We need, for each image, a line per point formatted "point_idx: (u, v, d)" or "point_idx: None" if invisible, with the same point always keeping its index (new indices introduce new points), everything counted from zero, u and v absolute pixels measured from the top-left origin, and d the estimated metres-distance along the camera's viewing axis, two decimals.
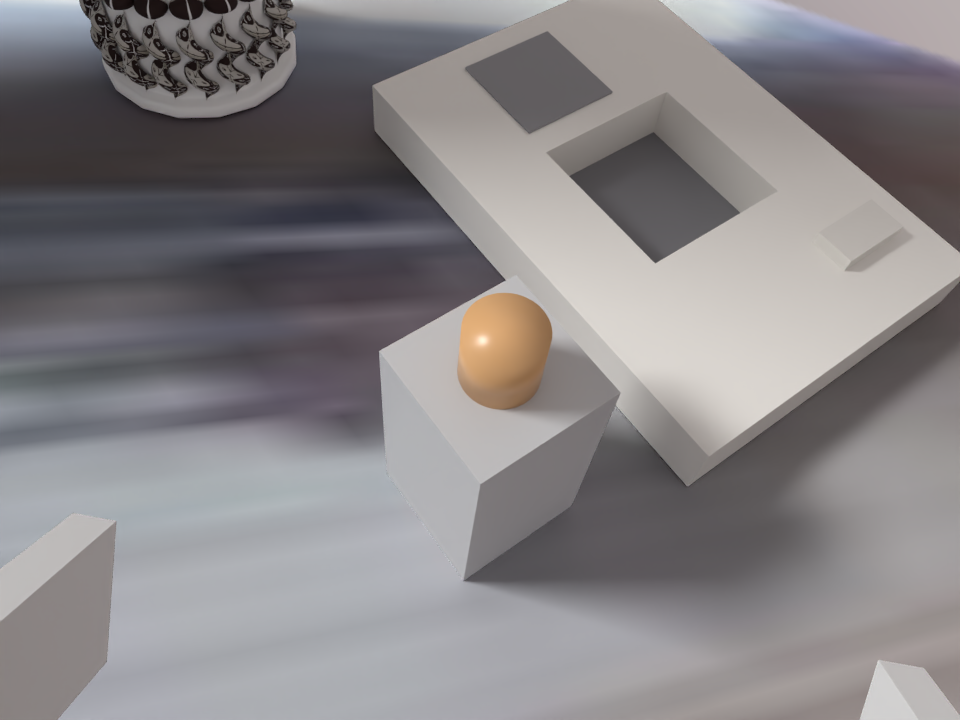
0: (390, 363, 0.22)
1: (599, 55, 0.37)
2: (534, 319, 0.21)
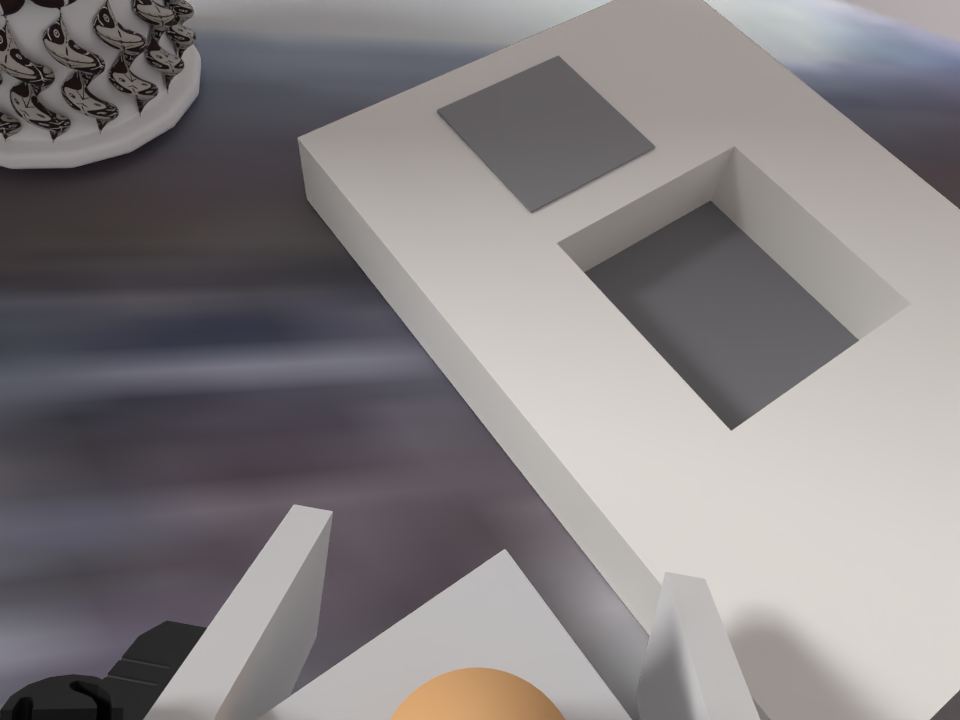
0: None
1: (634, 92, 0.26)
2: None
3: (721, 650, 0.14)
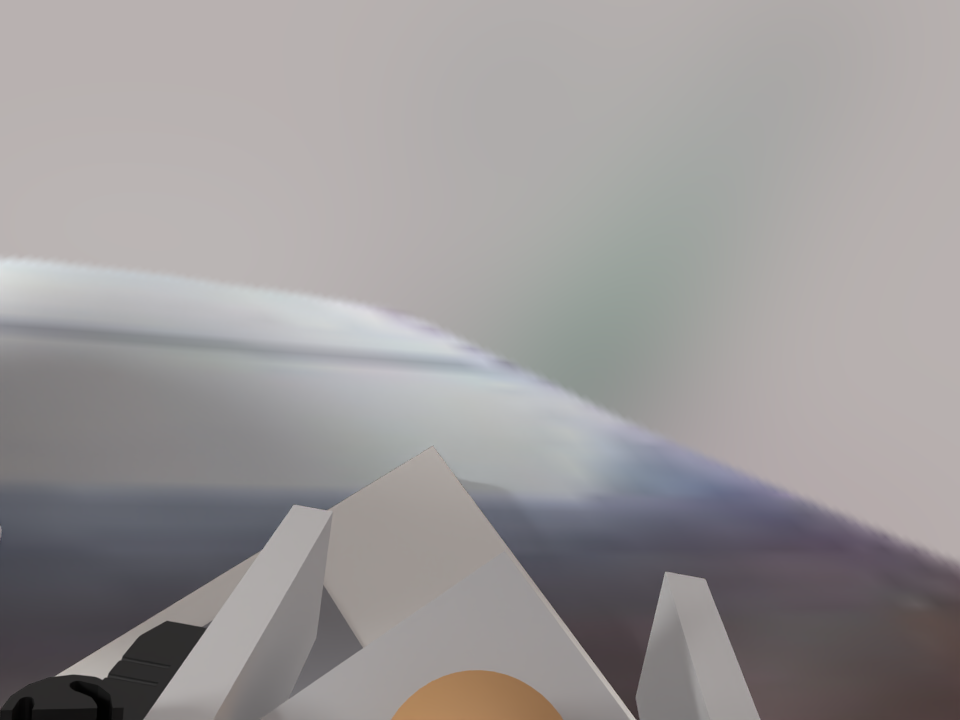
0: None
1: (372, 601, 0.28)
2: None
3: (721, 650, 0.14)
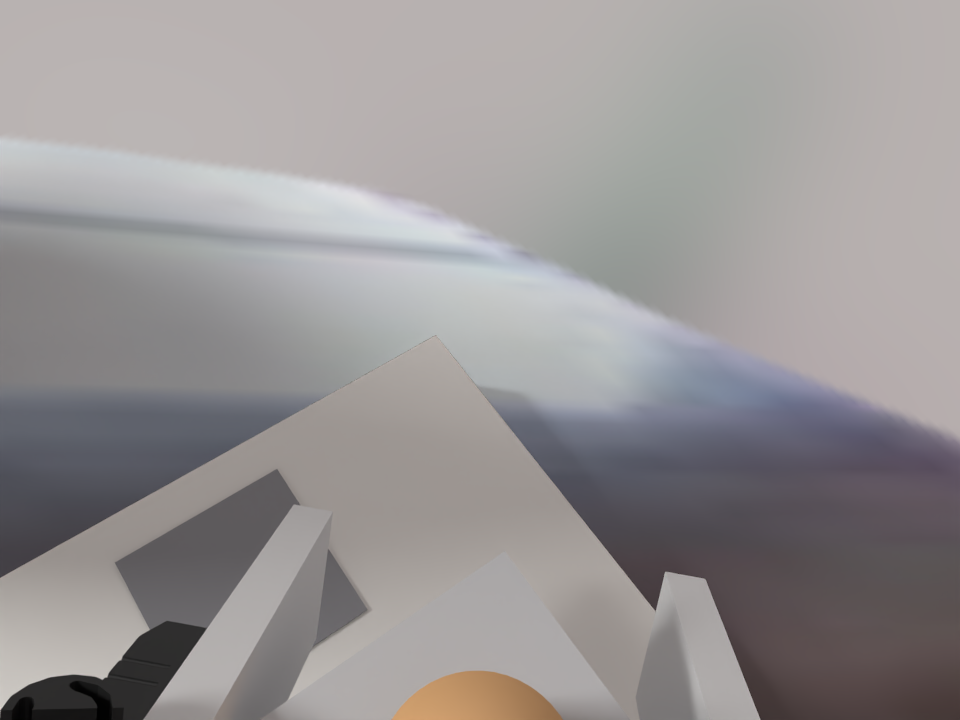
0: None
1: (359, 519, 0.22)
2: None
3: (721, 650, 0.14)
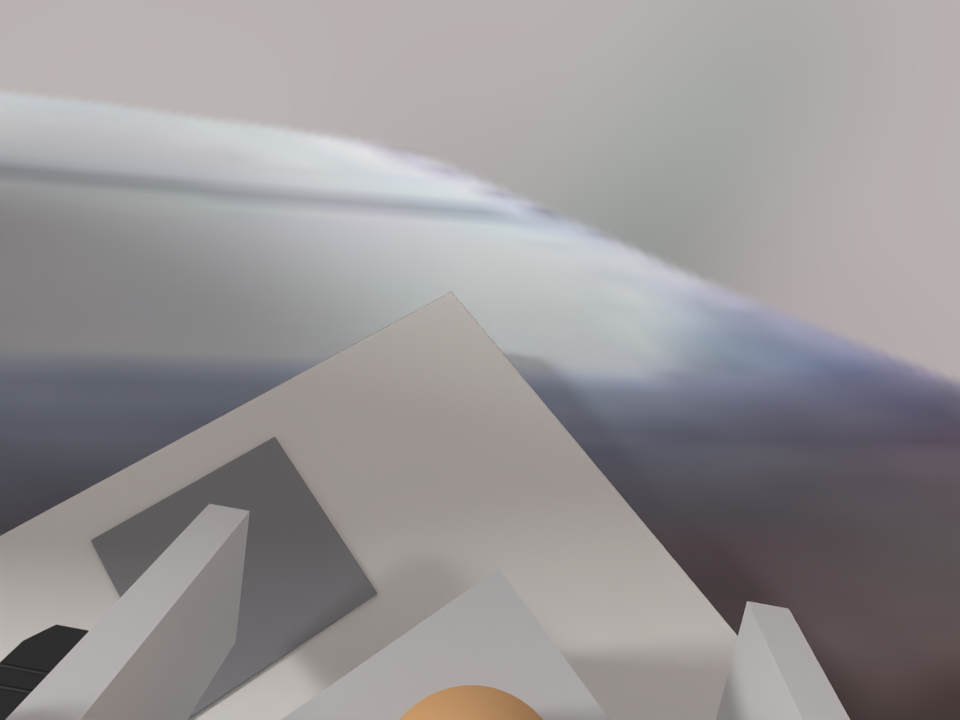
0: None
1: (367, 493, 0.20)
2: None
3: (821, 689, 0.13)
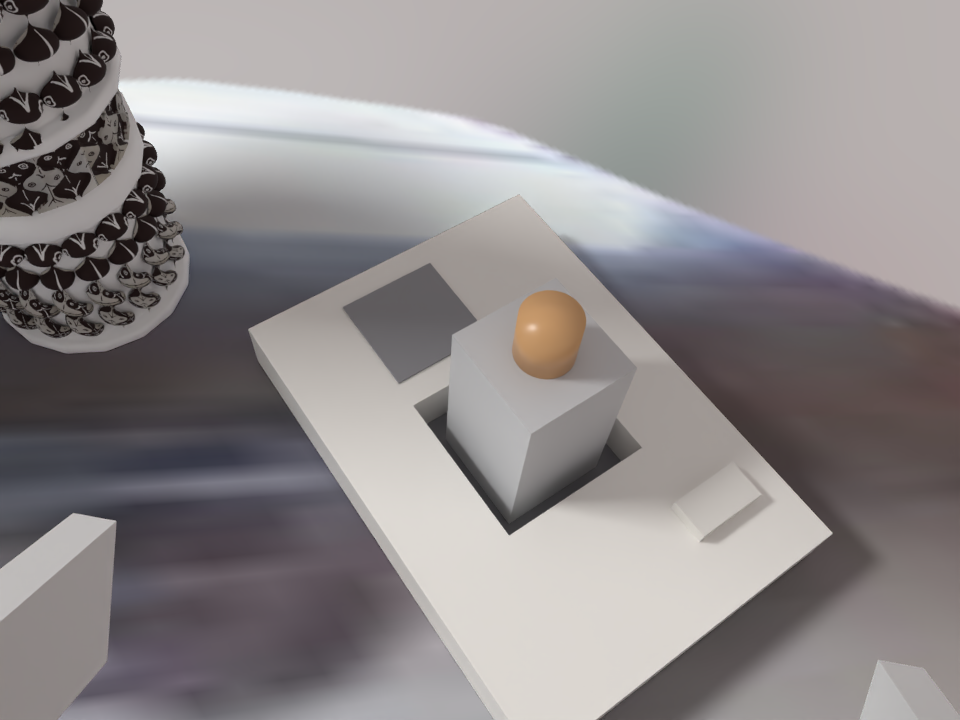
0: (460, 344, 0.29)
1: (479, 290, 0.38)
2: (572, 309, 0.28)
3: None
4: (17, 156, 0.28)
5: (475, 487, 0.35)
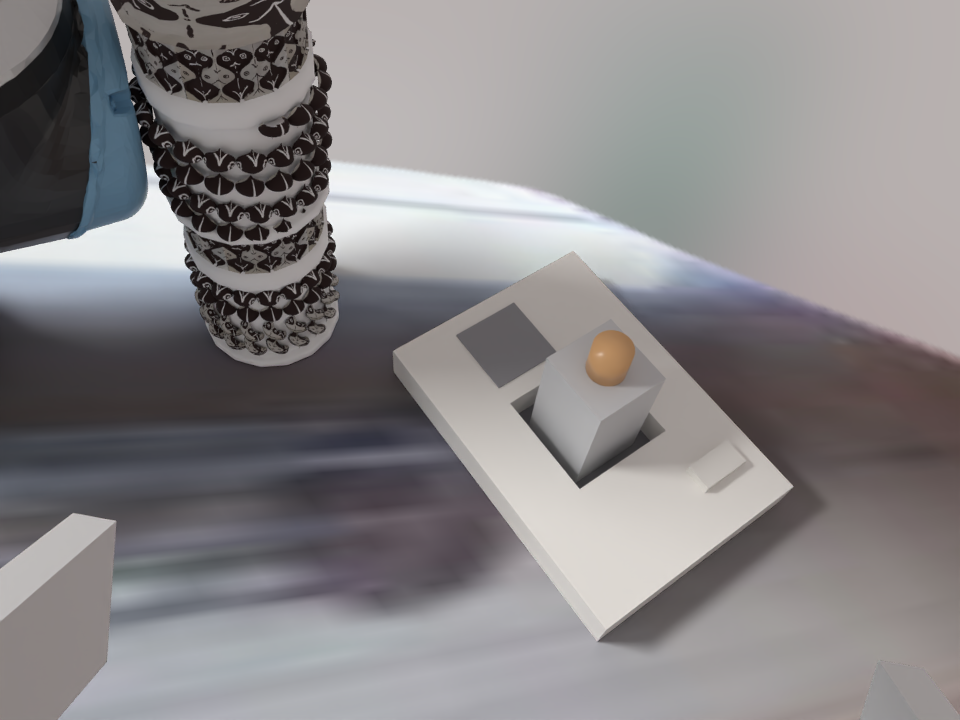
0: (552, 363, 0.45)
1: (549, 321, 0.54)
2: (626, 342, 0.44)
3: None
4: (277, 236, 0.44)
5: None
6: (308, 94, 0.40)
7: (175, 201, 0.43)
